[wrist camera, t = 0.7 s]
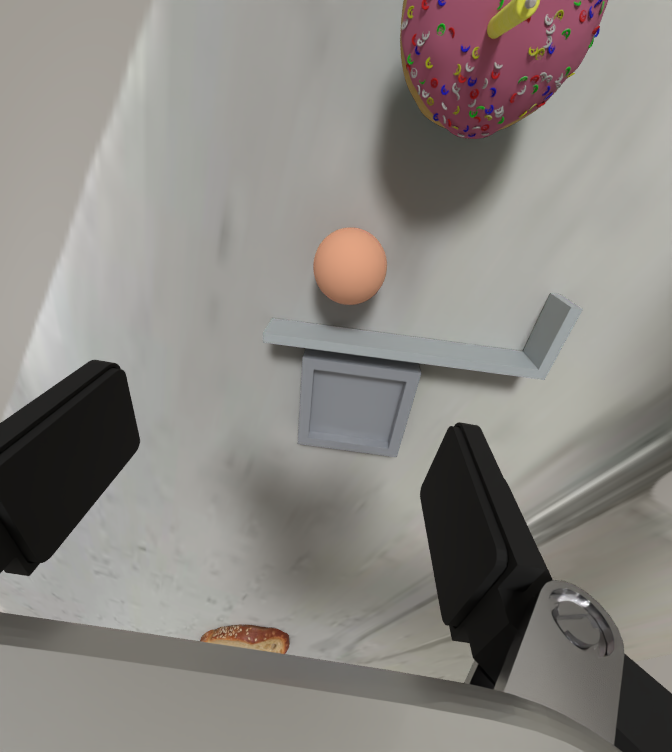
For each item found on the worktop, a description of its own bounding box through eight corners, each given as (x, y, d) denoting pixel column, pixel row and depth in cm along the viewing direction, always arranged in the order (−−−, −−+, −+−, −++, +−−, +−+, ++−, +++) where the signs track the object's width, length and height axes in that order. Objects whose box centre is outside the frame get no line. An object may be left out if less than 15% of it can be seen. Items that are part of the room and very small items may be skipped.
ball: (391, 227, 23) (396, 240, 19) (378, 295, 26) (380, 320, 22) (321, 218, 23) (310, 229, 19) (316, 287, 26) (306, 310, 22)
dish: (418, 362, 29) (421, 373, 27) (395, 444, 34) (396, 457, 33) (306, 347, 29) (302, 357, 27) (300, 431, 34) (297, 443, 33)
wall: (561, 294, 25) (583, 309, 22) (528, 360, 28) (544, 379, 25) (272, 256, 25) (261, 267, 22) (272, 326, 28) (263, 342, 26)
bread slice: (201, 647, 71) (194, 669, 68) (199, 612, 62) (190, 636, 58) (282, 661, 72) (278, 684, 69) (293, 629, 62) (289, 653, 59)
